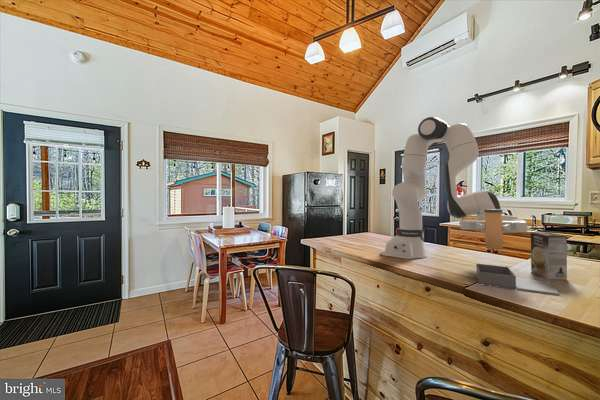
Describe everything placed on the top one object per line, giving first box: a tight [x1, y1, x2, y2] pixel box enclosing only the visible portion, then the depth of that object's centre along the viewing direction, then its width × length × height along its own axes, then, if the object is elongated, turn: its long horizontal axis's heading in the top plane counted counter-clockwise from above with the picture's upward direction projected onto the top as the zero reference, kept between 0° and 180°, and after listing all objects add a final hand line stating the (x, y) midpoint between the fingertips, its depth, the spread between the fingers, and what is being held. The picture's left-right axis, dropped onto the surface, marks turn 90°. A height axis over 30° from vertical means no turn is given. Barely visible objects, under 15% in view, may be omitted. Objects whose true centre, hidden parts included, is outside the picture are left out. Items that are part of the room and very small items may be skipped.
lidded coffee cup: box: [484, 208, 504, 250], centre depth 89 cm, size 5×5×14 cm
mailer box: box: [475, 263, 560, 296], centre depth 87 cm, size 20×12×4 cm, turn 57°
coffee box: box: [530, 231, 568, 280], centre depth 94 cm, size 9×6×16 cm
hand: (493, 227), depth 89 cm, fingers closed on lidded coffee cup, 5 cm apart
